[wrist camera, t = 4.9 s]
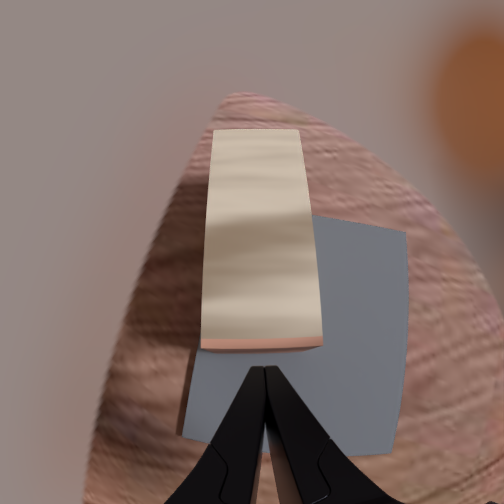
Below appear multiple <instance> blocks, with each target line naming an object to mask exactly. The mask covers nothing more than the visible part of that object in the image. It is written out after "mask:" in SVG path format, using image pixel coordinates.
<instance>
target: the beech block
mask: <svg viewBox="0 0 504 504" xmlns="http://www.w3.org/2000/svg"><path fill="white" fill-rule="evenodd" d="M320 346H323V332H322V317H321V303H320V290H319V279H318V268H317V258H316V248H315V239H314V231H313V222H312V214H311V207H310V199H309V192H308V185H307V178H306V172H305V165H304V159H303V153H302V147H301V141H300V135H299V130H287V129H230V130H214V134H213V143H212V153H211V164H210V175H209V186H208V199H207V212H206V227H205V243H204V261H203V283H202V312H201V348H202V349H204V350H207V351H210V352H213V353H215V354H261V353H290V352H304V351H307V350H310V349H314V348H317V347H320Z"/></svg>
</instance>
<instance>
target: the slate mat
mask: <svg viewBox="0 0 504 504" xmlns="http://www.w3.org/2000/svg"><path fill="white" fill-rule="evenodd" d="M312 222H313V231H314V239H315V248H316V258H317V268H318V279H319V290H320V303H321V317H322V332H323V346H320V347H317V348H314V349H310V350H307V351H304V352H290V353H261V354H215V353H213V352H210V351H207V350H204V349H202V348H201V333H200V338H199V343H198V348H197V354H196V359H195V364H194V370H193V375H192V381H191V386H190V392H189V398H188V403H187V409H186V415H185V421H184V427H183V434H182V437H184V438H188V439H192V440H196V441H200V442H205V443H209V444H210V441H211V440H212V438H213V436H214V434H215V432H216V431H217V429H218V427H219V425H220V423H221V422H222V420H223V418H224V416H225V414H226V412H227V411H228V409H229V407H230V405H231V403H232V401H233V399H234V398H235V396H236V394H237V392H238V390H239V388H240V386H241V384H242V382H243V380H244V378H245V377H246V375H247V373H248V371H249V369H250V367H251V366H264V367H265V366H266V365H277V366H278V367H279V368H280V369H281V371H282V372H283V374H284V375H285V376H286V378H287V379H288V381H289V382H290V383H291V385H292V386H293V388H294V389H295V390H296V392H297V393H298V394H299V396H300V397H301V399H302V400H303V401H304V403H305V404H306V405H307V407H308V408H309V409H310V411H311V412H312V413H313V415H314V416H315V417H316V419H317V420H318V421H319V423H320V424H321V425H322V427H323V428H324V429H325V431H326V432H327V433H328V435H329V436H330V439H333V441H334V442H335V443H336V445H337V446H338V447H339V448H340V450H341V451H342V452H343V453H344V454H345V455H346V456H360V455H376V454H387V453H391V452H392V447H393V443H394V438H395V433H396V428H397V423H398V417H399V411H400V405H401V398H402V391H403V383H404V375H405V365H406V353H407V337H408V306H409V291H408V259H407V243H406V232H402V231H397V230H392V229H387V228H382V227H377V226H371V225H366V224H361V223H355V222H350V221H344V220H339V219H333V218H327V217H321V216H315V215H312ZM262 452H266V453H270V450H269V445H268V439H267V434H266V427H265V433H264V442H263V451H262Z"/></svg>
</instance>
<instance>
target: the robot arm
mask: <svg viewBox="0 0 504 504" xmlns="http://www.w3.org/2000/svg"><path fill="white" fill-rule="evenodd" d="M265 427H266V434H267V439H268V445H269V450H270V455H271V461H272V466H273V471H274V476H275V482H276V487H277V492H278V497H279V502H280V504H405V503H402V502H400V501H397V500H396V499H394V498H392V497H391V496H389V495H388V494H386V493H385V492H384V491H383V490H382V489H380V488H379V487H378V486H377V485H376V484H375V483H374V482H373V481H371V480H370V479H369V478H368V477H367V476H366V475H365V474H364V473H363V472H361V471H360V470H359V469H358V468H357V467H356V466H355V465H354V464H353V463H352V462H351V461H350V460H349V459H348V458H347V457H346V455H345V454H344V453H343V452H342V451H341V450H340V448H339V447H338V446H337V445H336V443H335V442H334V441H333V439H330V436H329V435H328V433H327V432H326V431H325V429H324V428H323V427H322V425H321V424H320V423H319V421H318V420H317V419H316V417H315V416H314V415H313V413H312V412H311V411H310V409H309V408H308V407H307V405H306V404H305V403H304V401H303V400H302V399H301V397H300V396H299V394H298V393H297V392H296V390H295V389H294V388H293V386H292V385H291V383H290V382H289V381H288V379H287V378H286V376H285V375H284V374H283V372H282V371H281V369H280V368H279V367H278V366H277V365H266V366H265V367H264V366H251V367H250V369H249V371H248V373H247V375H246V377H245V378H244V380H243V382H242V384H241V386H240V388H239V390H238V392H237V394H236V396H235V398H234V399H233V401H232V403H231V405H230V407H229V409H228V411H227V412H226V414H225V416H224V418H223V420H222V422H221V423H220V425H219V427H218V429H217V431H216V432H215V434H214V436H213V438H212V440H211V441H210V444H209V445H208V446H207V448H206V450H205V452H204V453H203V455H202V456H201V458H200V460H199V461H198V463H197V464H196V466H195V467H194V468H193V470H192V471H191V472H190V474H189V475H188V476H187V478H186V479H185V480H184V481H183V482H182V484H181V485H180V486H179V487H178V488H177V489H176V491H175V492H174V493H173V494H172V495H171V496H170V497H169V498H168V500H167V501H166V502H165V503H164V504H256V499H257V491H258V484H259V476H260V468H261V459H262V451H263V442H264V433H265ZM486 504H498V503H495V502H492V501H489V502H487V503H486Z"/></svg>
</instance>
